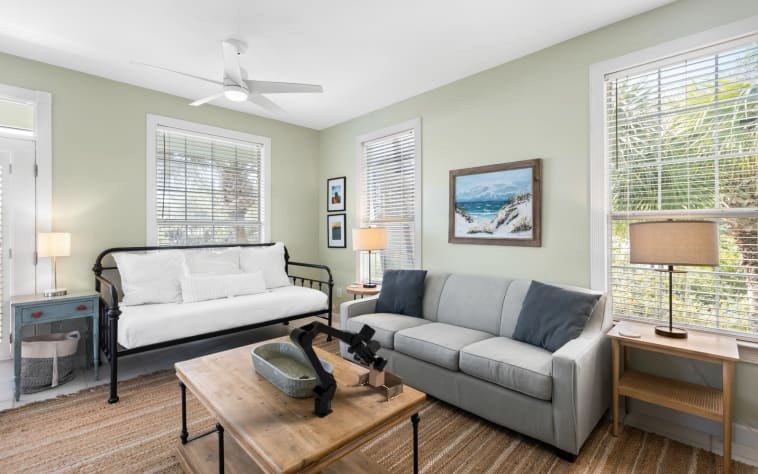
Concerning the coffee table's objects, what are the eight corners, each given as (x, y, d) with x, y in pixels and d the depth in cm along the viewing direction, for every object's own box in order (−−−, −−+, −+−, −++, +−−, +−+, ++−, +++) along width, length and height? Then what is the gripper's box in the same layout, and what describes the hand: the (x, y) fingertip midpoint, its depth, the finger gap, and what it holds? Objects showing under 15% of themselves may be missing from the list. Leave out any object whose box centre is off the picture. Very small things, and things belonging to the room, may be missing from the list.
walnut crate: (388, 401, 157) (388, 383, 157) (358, 385, 173) (359, 369, 173) (402, 395, 164) (403, 377, 163) (373, 380, 179) (373, 364, 179)
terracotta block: (376, 387, 163) (376, 361, 163) (369, 383, 167) (369, 358, 167) (384, 384, 166) (384, 358, 166) (377, 380, 170) (377, 356, 170)
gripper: (385, 340, 157) (401, 360, 164) (358, 331, 171) (375, 349, 178) (371, 362, 152) (389, 381, 159) (345, 351, 166) (362, 369, 173)
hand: (379, 369), depth 167 cm, fingers closed on terracotta block, 5 cm apart
